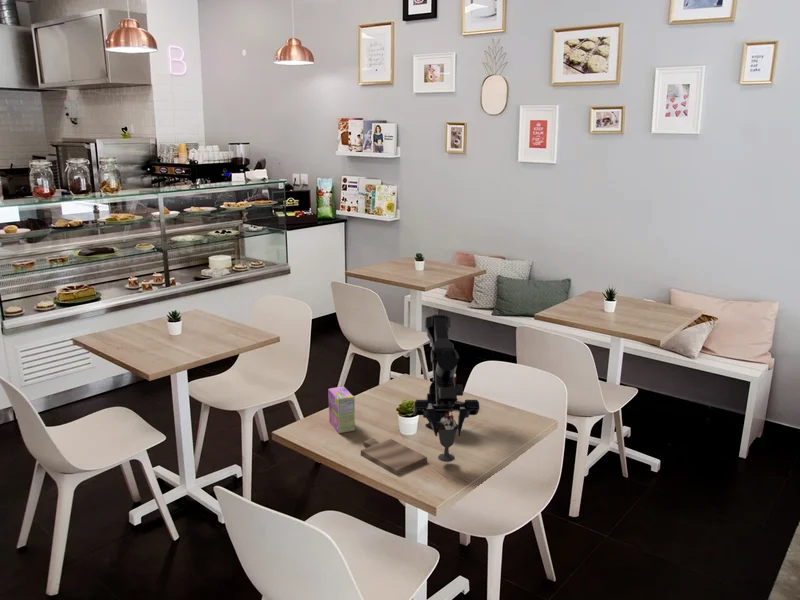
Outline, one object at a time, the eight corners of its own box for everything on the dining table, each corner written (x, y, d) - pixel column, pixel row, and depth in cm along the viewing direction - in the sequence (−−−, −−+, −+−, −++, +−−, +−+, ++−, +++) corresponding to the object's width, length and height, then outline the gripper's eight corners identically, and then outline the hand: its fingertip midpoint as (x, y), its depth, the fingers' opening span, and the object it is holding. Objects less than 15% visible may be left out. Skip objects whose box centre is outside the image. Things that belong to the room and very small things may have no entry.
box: (328, 421, 222) (328, 388, 219) (344, 418, 224) (344, 385, 221) (338, 434, 212) (337, 399, 209) (355, 431, 214) (354, 396, 212)
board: (352, 450, 201) (352, 445, 201) (382, 439, 209) (382, 434, 209) (396, 474, 187) (396, 470, 186) (426, 461, 195) (426, 457, 194)
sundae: (458, 453, 195) (460, 405, 192) (457, 464, 189) (458, 415, 185) (436, 451, 196) (437, 404, 193) (433, 462, 190) (435, 413, 186)
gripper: (415, 373, 190) (416, 425, 182) (479, 373, 191) (484, 425, 183) (413, 389, 200) (414, 439, 192) (474, 389, 200) (478, 439, 192)
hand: (447, 435), depth 189 cm, fingers closed on sundae, 6 cm apart
